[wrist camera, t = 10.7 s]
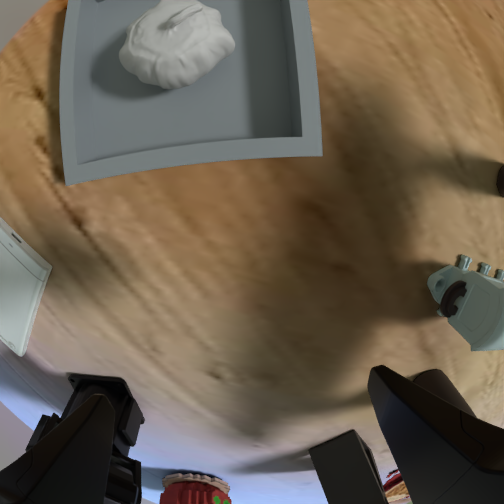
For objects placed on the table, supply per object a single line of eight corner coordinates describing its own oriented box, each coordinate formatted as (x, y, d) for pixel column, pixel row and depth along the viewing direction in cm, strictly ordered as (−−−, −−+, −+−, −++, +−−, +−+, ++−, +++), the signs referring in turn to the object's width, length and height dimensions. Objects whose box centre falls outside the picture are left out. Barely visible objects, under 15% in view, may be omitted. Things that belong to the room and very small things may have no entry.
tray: (89, 179, 16) (65, 186, 13) (89, 0, 11) (71, -16, 8) (307, 154, 16) (322, 156, 14) (288, -30, 12) (296, -52, 9)
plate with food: (480, 427, 37) (487, 437, 33) (433, 481, 45) (437, 489, 42) (390, 466, 36) (395, 480, 32) (354, 509, 44) (357, 519, 41)
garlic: (230, 12, 12) (229, -32, 8) (237, 88, 14) (239, 62, 10) (134, 29, 12) (102, -4, 7) (137, 104, 14) (99, 89, 9)
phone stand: (308, 448, 28) (327, 532, 16) (354, 428, 27) (384, 511, 15) (332, 467, 30) (351, 534, 19) (371, 450, 30) (396, 516, 18)
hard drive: (20, 358, 20) (45, 272, 17) (-30, 308, 18) (-16, 210, 15) (28, 349, 21) (56, 264, 18) (-22, 300, 19) (-4, 205, 16)
